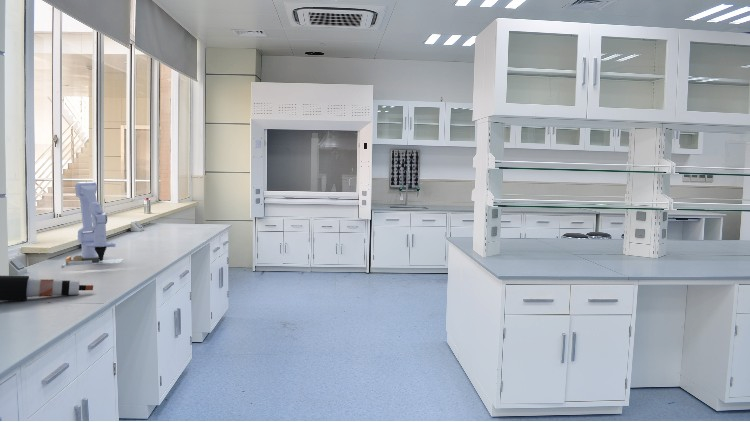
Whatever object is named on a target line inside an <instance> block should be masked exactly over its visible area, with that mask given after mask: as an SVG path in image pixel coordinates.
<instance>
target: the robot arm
mask: <svg viewBox="0 0 750 422" xmlns="http://www.w3.org/2000/svg"><path fill="white" fill-rule="evenodd" d="M74 190H75V195H76V198H78V199H79V203H80V211H81V221H82V222H81V223H82V227H81V228H79V229H78V230H77V241H78V243H79V244H80V245H81V256H83V258H91V257H99V260H100V261H103V260H104V255H105V253H106V250H107V248H115V247H117V245H116V242H107V227H106V226H107V223H108V215H107V213H106V212H104V211H103V208H102V206H101V204H100V203H99V202H98V200H97V195H96V194H97V191H98V184H97V182H96V181H82V182H81V181H77V182H76V183H75V189H74Z"/></svg>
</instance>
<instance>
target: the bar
mask: <svg viewBox="0 0 750 422" xmlns="http://www.w3.org/2000/svg"><path fill="white" fill-rule="evenodd" d="M82 261H92V263H94V262H99V257H98V256H97V257H91V258H82Z"/></svg>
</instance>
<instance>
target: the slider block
mask: <svg viewBox="0 0 750 422" xmlns="http://www.w3.org/2000/svg"><path fill="white" fill-rule="evenodd" d="M82 258H83V256H82V254H81V255H79V254H78V255H75V256H73V257H72V259H73V261H82Z"/></svg>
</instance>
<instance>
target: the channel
mask: <svg viewBox="0 0 750 422" xmlns="http://www.w3.org/2000/svg"><path fill="white" fill-rule="evenodd" d="M122 262H123V258H115V259H103V261H100V260H99V262H94V263H92V261H73V258H72V256H71V255H70V256H67V257H66V258H65V262H64V263H63V264H62V265H61V268H64V267H66V266H81V265H83V266H85V265H103V264H104V265H105V264H120V263H122Z"/></svg>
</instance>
